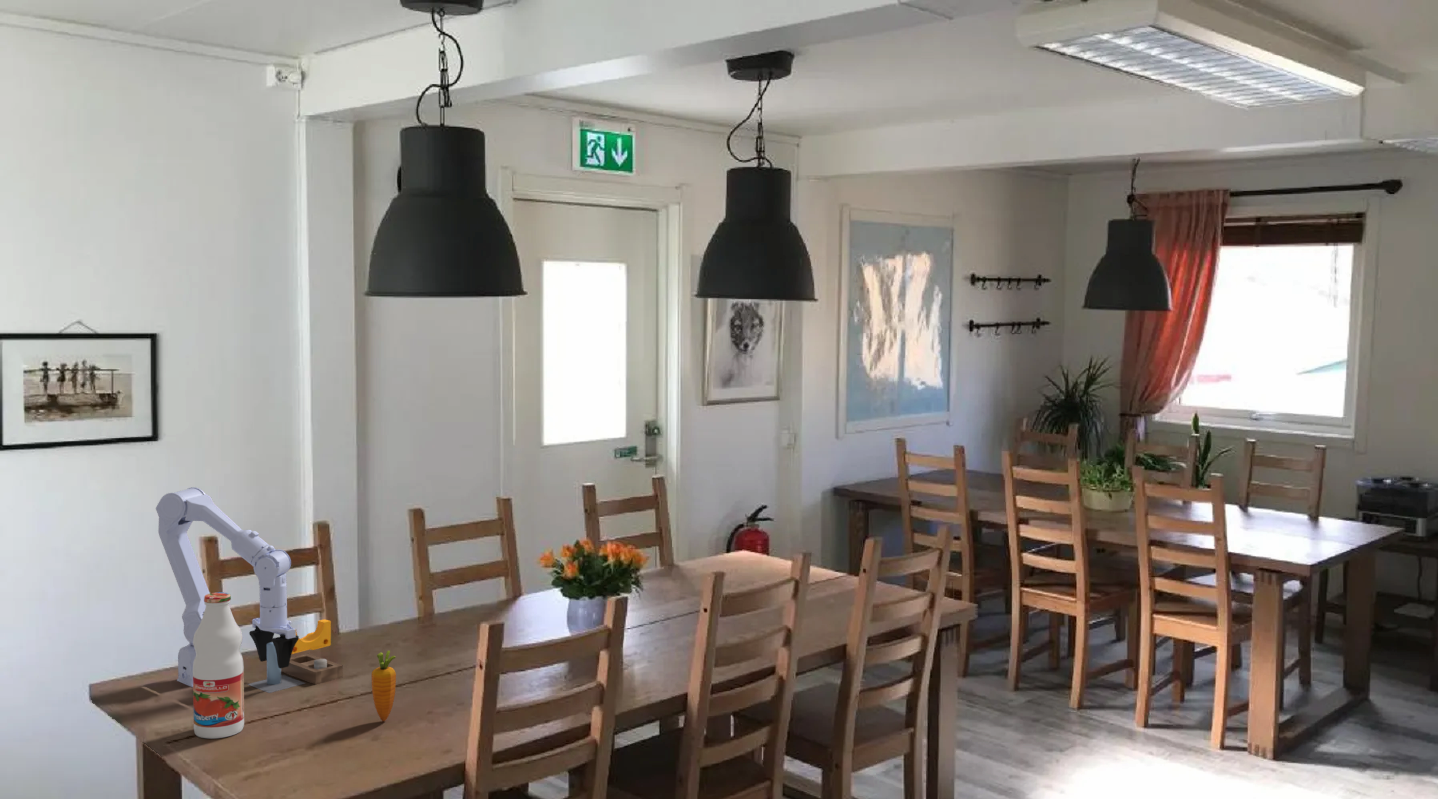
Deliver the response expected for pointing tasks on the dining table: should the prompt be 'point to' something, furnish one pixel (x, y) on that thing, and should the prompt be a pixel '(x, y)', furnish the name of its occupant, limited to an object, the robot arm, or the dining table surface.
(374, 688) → the carrot
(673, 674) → the dining table surface
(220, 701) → the white yogurt drink bottle
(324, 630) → the pipe clamp
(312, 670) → the hole block
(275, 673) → the dowel
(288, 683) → the mat
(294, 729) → the dining table surface
